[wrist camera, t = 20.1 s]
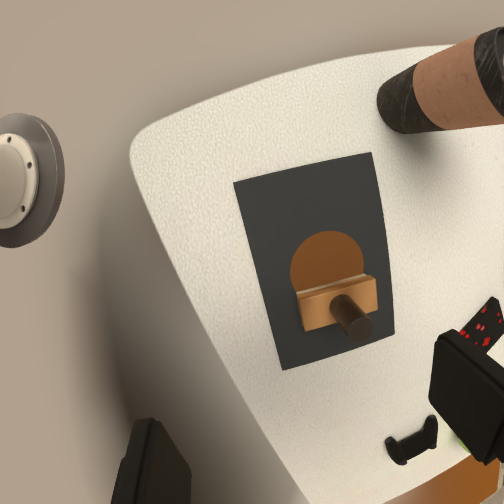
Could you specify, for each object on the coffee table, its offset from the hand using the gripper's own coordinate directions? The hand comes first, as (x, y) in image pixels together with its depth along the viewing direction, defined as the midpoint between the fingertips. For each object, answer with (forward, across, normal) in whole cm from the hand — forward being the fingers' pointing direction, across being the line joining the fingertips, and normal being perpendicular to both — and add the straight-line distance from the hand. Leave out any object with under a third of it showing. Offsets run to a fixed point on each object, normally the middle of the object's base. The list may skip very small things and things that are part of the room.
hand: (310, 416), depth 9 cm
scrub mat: (+26, -8, +6) cm, 28 cm away
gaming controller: (+25, -21, +43) cm, 54 cm away
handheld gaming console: (+25, -34, +25) cm, 49 cm away
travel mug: (+26, -22, -12) cm, 36 cm away
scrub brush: (+25, -8, +9) cm, 28 cm away
